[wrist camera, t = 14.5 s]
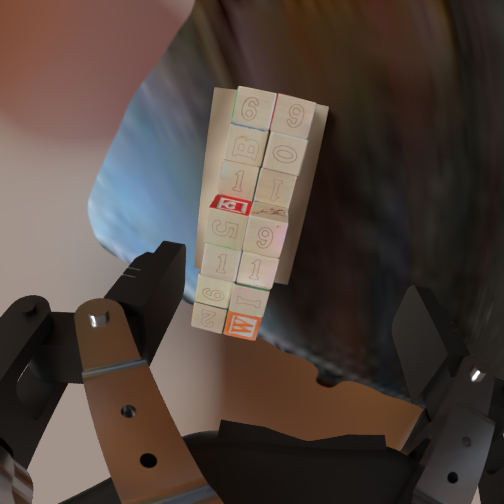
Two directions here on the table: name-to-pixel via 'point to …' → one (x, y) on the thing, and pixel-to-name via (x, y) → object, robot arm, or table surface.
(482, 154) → the table surface
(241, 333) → the stack of blocks
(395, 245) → the table surface
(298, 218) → the birch board
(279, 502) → the robot arm
